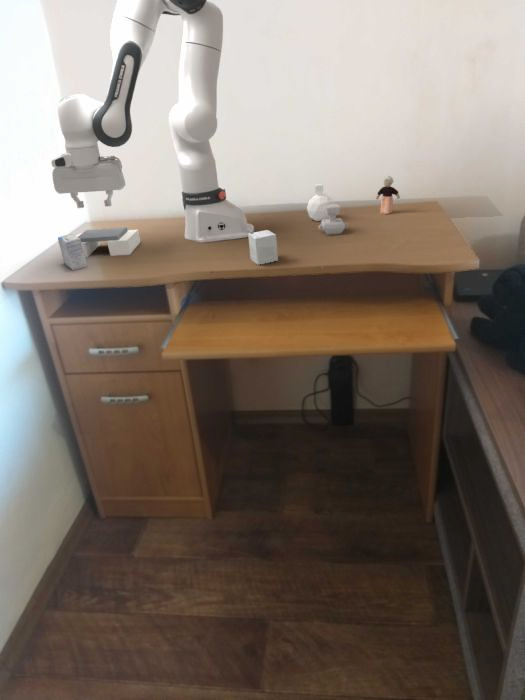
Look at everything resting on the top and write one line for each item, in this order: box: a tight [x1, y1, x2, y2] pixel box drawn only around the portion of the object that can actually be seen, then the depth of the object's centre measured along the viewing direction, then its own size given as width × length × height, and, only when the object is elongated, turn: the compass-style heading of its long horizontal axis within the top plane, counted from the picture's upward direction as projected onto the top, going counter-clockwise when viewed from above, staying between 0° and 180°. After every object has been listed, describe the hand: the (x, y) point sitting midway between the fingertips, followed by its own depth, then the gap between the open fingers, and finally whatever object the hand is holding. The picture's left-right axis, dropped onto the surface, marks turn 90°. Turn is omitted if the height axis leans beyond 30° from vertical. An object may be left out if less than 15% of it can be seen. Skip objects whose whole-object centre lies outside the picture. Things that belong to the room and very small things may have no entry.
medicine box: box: [57, 233, 88, 271], centre depth 150 cm, size 8×4×9 cm, turn 35°
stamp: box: [317, 203, 348, 236], centre depth 159 cm, size 9×7×8 cm
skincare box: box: [247, 229, 279, 266], centre depth 141 cm, size 6×6×7 cm
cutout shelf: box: [75, 226, 141, 258], centre depth 161 cm, size 19×12×6 cm, turn 87°
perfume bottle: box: [306, 183, 334, 222], centre depth 171 cm, size 9×9×12 cm
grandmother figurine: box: [375, 175, 401, 215], centre depth 172 cm, size 8×4×13 cm, turn 81°
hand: (94, 206), depth 156 cm, fingers open, 7 cm apart
